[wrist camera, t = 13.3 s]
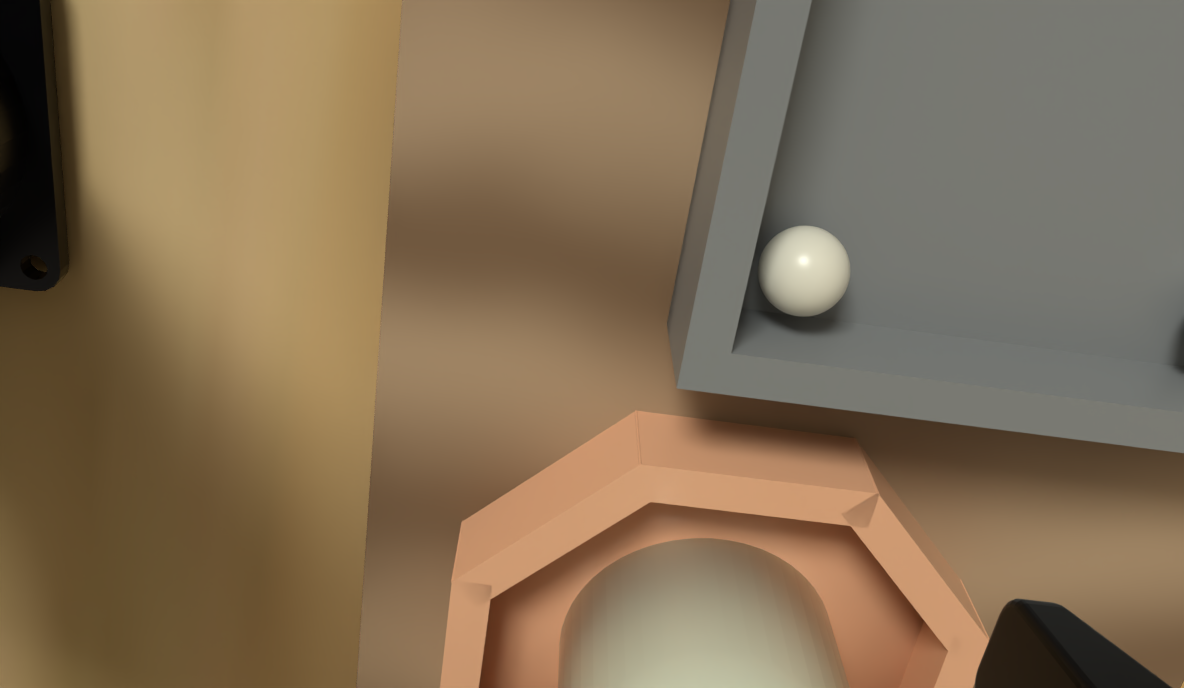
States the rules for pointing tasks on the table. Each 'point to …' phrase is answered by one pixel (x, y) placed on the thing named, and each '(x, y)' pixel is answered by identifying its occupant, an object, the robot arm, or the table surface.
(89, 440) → the table surface
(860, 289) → the parts tray
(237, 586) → the table surface
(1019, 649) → the robot arm
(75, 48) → the table surface
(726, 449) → the terracotta dish
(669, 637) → the pale green tall cylinder
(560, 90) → the walnut board
